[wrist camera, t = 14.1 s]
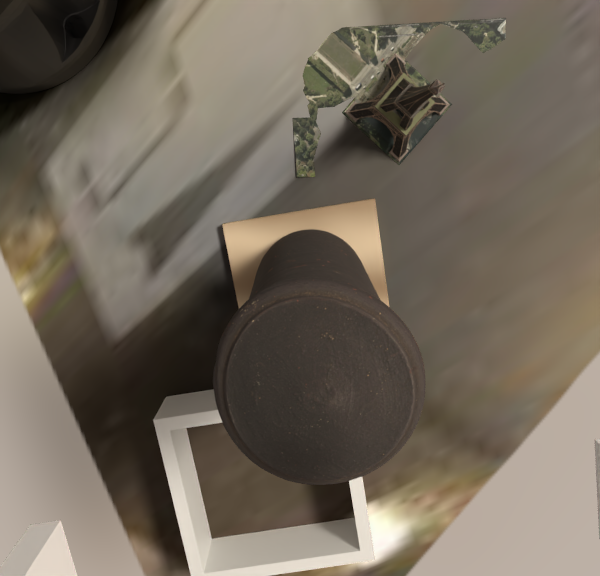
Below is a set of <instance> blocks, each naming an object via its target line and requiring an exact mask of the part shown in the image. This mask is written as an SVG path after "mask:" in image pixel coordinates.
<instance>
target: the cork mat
mask: <svg viewBox="0 0 600 576" xmlns="http://www.w3.org/2000/svg"><path fill="white" fill-rule="evenodd" d="M222 225H223V231H224V236H225V241H226V246H227V251H228V256H229V261H230V266H231V271H232V276H233V282H234V287H235V292H236V297H237V302H238V307H239V308H240V307H241V306H242V305H243V304H244V303H245V302H246V301H247V300H249V297H250V294H251V291H252V287H253V284H254V280H255V276H256V273H257V270H258V267H259V265H260V262H261V260H262V258H263V257H264V255H265V254H266V252H267V251H268V250H269V249H270V247H271V246H272V245H274V244H275V243H276V242H277V241H278V240H279V239H281V238H282V237H284V236H286V235H288V234H290V233H293V232H296V231H300V230H308V229H317V230H322V231H326V232H329V233H332V234H334V235H336V236H338V237H339V238H341V239H343V240H344V241H345V242H346V243H348V244H349V245H350V246H351V247H352V249H353V250H354V251H355V252H356V254H357V255H358V257H359V258H360V260H361V262H362V264H363V266H364V268H365V270H366V272H367V274H368V276H369V278H370V280H371V282H372V284H373V286H374V288H375V290H376V292H377V294H378V296H379V298H380V300H381V301H382V302H384V303H385V304H386V305H387V306H388V307H389V301H388V293H387V286H386V278H385V271H384V264H383V256H382V249H381V241H380V234H379V226H378V219H377V211H376V204H375V199H374V198H373V199H367V200H361V201H355V202H349V203H343V204H337V205H331V206H325V207H319V208H313V209H307V210H301V211H295V212H289V213H283V214H277V215H271V216H265V217H259V218H253V219H247V220H241V221H235V222H229V223H223V224H222Z"/></svg>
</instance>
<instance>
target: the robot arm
mask: <svg viewBox="0 0 600 576" xmlns="http://www.w3.org/2000/svg"><path fill="white" fill-rule="evenodd" d="M117 2H118V0H0V93H9V94H23V93H32V92H38V91H42V90H45V89H49V88H52V87H54V86H57V85H59V84H61V83H63V82H65V81H66V80H68V79H70V78H71V77H73V76H74V75H75V74H77V73H78V72H79V71H81V70H82V69H83V68H84V67H85V66H86V65H87V64H88V63H89V62H90V61H91V60H92V58H93V57H94V56H95V55H96V53H97V52H98V51H99V49H100V48H101V46H102V44H103V43H104V41H105V39H106V37H107V35H108V33H109V31H110V28H111V26H112V23H113V19H114V16H115V12H116V8H117ZM595 456H596V476H597V497H598V519H599V538H600V439H595ZM0 576H77V573H76V570H75V566H74V563H73V560H72V556H71V553H70V550H69V546H68V543H67V540H66V537H65V533H64V530H63V527H62V523H61V520H58V521H51V522H45V523H38V524H31V525H30V526H29V527H28V529H27V530H26V532H25V533H24V534H23V536H22V537H21V539H20V540H19V541H18V543H17V544H16V545H15V547H14V548H13V550H12V551H11V552H10V554H9V555H8V557H7V558H6V559H5V561H4V562H3V563H2V565H1V566H0Z"/></svg>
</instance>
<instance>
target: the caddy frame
mask: <svg viewBox="0 0 600 576" xmlns="http://www.w3.org/2000/svg"><path fill="white" fill-rule="evenodd" d="M153 421H154V425H155V429H156V434H157V438H158V442H159V446H160V450H161V454H162V458H163V462H164V466H165V471H166V475H167V479H168V483H169V487H170V491H171V495H172V499H173V504H174V508H175V512H176V516H177V520H178V524H179V528H180V532H181V536H182V541H183V545H184V549H185V553H186V557H187V561H188V565H189V569H190V573H191V576H270V575H277V574H283V573H290V572H297V571H304V570H311V569H318V568H325V567H332V566H339V565H346V564H352V563H359V562H366V561H373V560H375V556H374V549H373V543H372V536H371V530H370V524H369V517H368V511H367V504H366V498H365V492H364V485H363V479H362V477H359V478H356V479H353V480H350V481H349V484H350V491H351V497H352V503H353V509H354V515H355V518H349V519H343V520H336V521H329V522H322V523H315V524H309V525H302V526H295V527H288V528H282V529H275V530H268V531H261V532H255V533H248V534H241V535H234V536H227V537H221V538H214V539H212V538H211V533H210V529H209V525H208V520H207V516H206V512H205V507H204V503H203V499H202V494H201V490H200V485H199V481H198V477H197V472H196V468H195V464H194V459H193V455H192V451H191V446H190V442H189V438H188V433H187V429H186V428H190V427H196V426H203V425H209V424H216V423H222V420H221V417H220V415H219V412H218V409H217V405H216V401H215V395H214V389H212V390H205V391H199V392H193V393H186V394H180V395H173V396H167V397H166V398H165V400H164V401H163V403H162V405H161V407H160V409H159V410H158V412H157V414H156V416H155V418H154V419H153Z"/></svg>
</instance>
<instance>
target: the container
mask: <svg viewBox="0 0 600 576" xmlns="http://www.w3.org/2000/svg"><path fill="white" fill-rule="evenodd" d="M213 387H214V395H215V401H216V405H217V409H218V412H219V415H220V417H221V420H222V422H223V425H224V427H225V429H226V431H227V432H228V434H229V436H230V437H231V439H232V440H233V442H234V443H235V444H236V445H237V447H238V448H239V449H240V450H241V451H242V452H243V453H244V454H245V455H246V456H247V457H248V458H249V459H250V460H251V461H252V462H254V463H255V464H256V465H258V466H259V467H261V468H262V469H264V470H265V471H267V472H269V473H271V474H273V475H275V476H277V477H280V478H283V479H285V480H288V481H292V482H296V483H302V484H309V485H327V484H337V483H342V482H347V481H350V480H353V479H356V478H359V477H362V476H364V475H366V474H368V473H370V472H372V471H374V470H376V469H377V468H379V467H381V466H382V465H383V464H385V463H386V462H387V461H389V460H390V459H391V458H392V457H393V456H394V455H395V454H396V453H397V452H398V451H400V449H401V448H402V447H403V446H404V444H405V443H406V442H407V441H408V439H409V438H410V436H411V435H412V433H413V431H414V429H415V427H416V425H417V423H418V421H419V418H420V415H421V412H422V409H423V404H424V398H425V370H424V364H423V360H422V356H421V353H420V350H419V347H418V345H417V343H416V341H415V339H414V337H413V335H412V334H411V332H410V330H409V329H408V327H407V326H406V325H405V323H404V322H403V321H402V320H401V318H400V317H399V316H398V315H397V314H396V313H395V312H394V311H393V310H392V309H391V308H390V307H388V306H387V305H386V304H385V303H384V302H382V301H381V300H380V298H379V296H378V294H377V292H376V290H375V288H374V286H373V284H372V282H371V280H370V278H369V276H368V274H367V272H366V270H365V268H364V266H363V264H362V262H361V260H360V258H359V257H358V255H357V254H356V252H355V251H354V250H353V249H352V247H351V246H350V245H349V244H348V243H346V242H345V241H344V240H343V239H341V238H339V237H338V236H336V235H334V234H332V233H329V232H326V231H322V230H317V229H308V230H300V231H296V232H293V233H290V234H288V235H286V236H284V237H282V238H281V239H279V240H278V241H277V242H276V243H275V244H274V245H272V246H271V247H270V249H269V250H268V251H267V252H266V254H265V255H264V257H263V258H262V260H261V262H260V265H259V267H258V270H257V273H256V276H255V280H254V284H253V287H252V291H251V294H250V297H249V300H247V301H246V302H245V303H244V304H243V305H242V306H241V307H240V308H239V309H238V311H237V312H236V313H235V314H234V316H233V317H232V318H231V320H230V321H229V323H228V324H227V326H226V328H225V330H224V332H223V335H222V337H221V339H220V342H219V345H218V348H217V358H216V363H215V366H214V371H213Z"/></svg>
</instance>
